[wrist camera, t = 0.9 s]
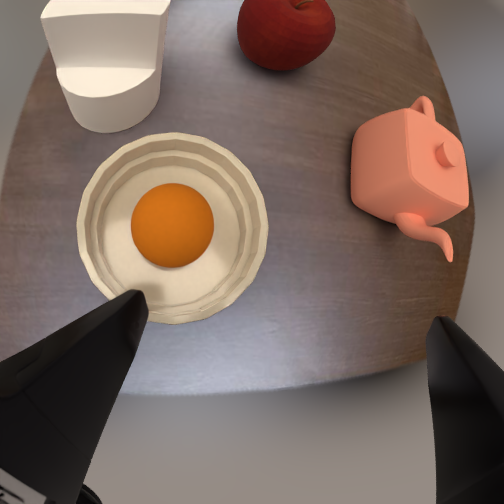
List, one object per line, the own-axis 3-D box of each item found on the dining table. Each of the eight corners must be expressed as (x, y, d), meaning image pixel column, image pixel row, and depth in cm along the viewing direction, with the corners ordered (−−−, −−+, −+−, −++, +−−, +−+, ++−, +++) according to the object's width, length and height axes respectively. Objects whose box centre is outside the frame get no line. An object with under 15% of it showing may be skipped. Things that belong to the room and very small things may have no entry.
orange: (170, 285, 24) (174, 286, 18) (119, 231, 23) (107, 215, 17) (222, 232, 26) (240, 218, 20) (172, 181, 25) (177, 153, 19)
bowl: (173, 350, 24) (176, 364, 20) (60, 232, 22) (41, 222, 18) (280, 235, 28) (302, 226, 23) (175, 128, 26) (179, 102, 22)
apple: (224, 80, 28) (253, 12, 18) (226, 22, 29) (251, -40, 19) (309, 95, 30) (358, 42, 21) (300, 37, 31) (338, -14, 22)
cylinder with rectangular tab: (59, 132, 22) (18, 50, 11) (85, 58, 24) (71, -28, 12) (151, 136, 25) (154, 46, 14) (167, 62, 26) (183, -29, 15)
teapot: (415, 139, 35) (472, 109, 25) (415, 276, 32) (488, 271, 22) (345, 105, 32) (400, 58, 22) (336, 259, 29) (414, 247, 19)
